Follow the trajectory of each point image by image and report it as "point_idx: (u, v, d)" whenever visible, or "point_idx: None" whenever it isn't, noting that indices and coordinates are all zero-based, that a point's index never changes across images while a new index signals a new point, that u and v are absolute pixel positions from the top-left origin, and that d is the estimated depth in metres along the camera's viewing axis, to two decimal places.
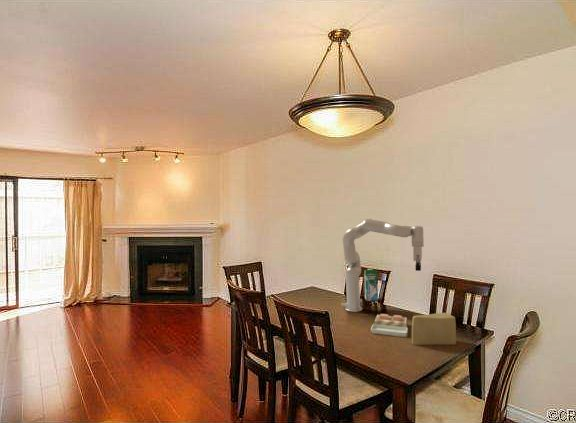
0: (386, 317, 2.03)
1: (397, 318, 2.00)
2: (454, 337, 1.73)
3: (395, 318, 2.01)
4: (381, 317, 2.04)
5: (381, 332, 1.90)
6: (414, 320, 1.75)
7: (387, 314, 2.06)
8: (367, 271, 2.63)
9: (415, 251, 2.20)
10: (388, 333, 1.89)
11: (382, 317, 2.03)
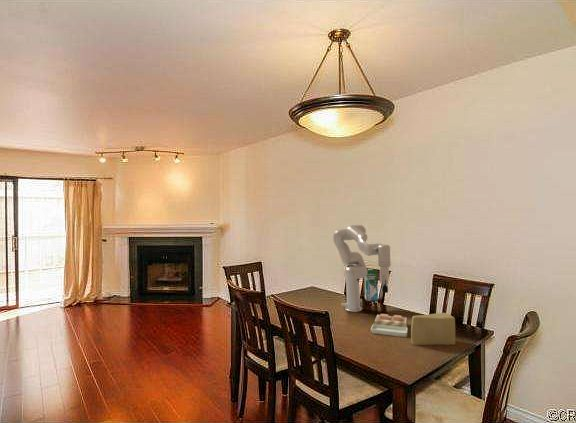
0: (386, 317, 2.03)
1: (397, 318, 2.00)
2: (453, 337, 1.73)
3: (395, 318, 2.01)
4: (381, 317, 2.04)
5: (381, 332, 1.90)
6: (413, 320, 1.75)
7: (387, 314, 2.06)
8: (367, 271, 2.63)
9: (382, 271, 2.09)
10: (388, 333, 1.89)
11: (382, 317, 2.03)
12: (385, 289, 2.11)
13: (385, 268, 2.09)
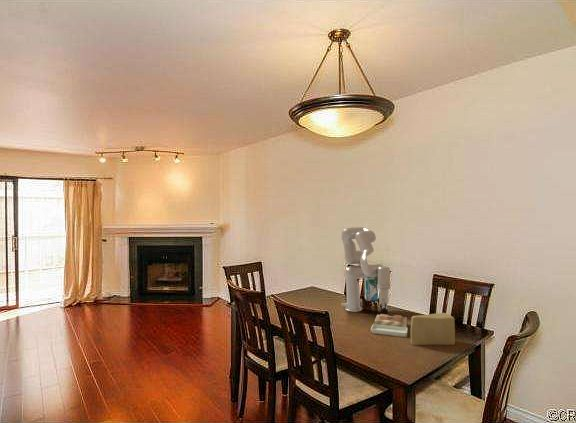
0: (386, 317, 2.02)
1: (397, 318, 2.00)
2: (453, 337, 1.73)
3: (395, 318, 2.01)
4: (381, 317, 2.03)
5: (381, 332, 1.90)
6: (413, 320, 1.75)
7: None
8: None
9: (381, 294, 2.04)
10: (388, 333, 1.89)
11: (382, 317, 2.03)
12: (385, 312, 2.07)
13: (385, 291, 2.04)
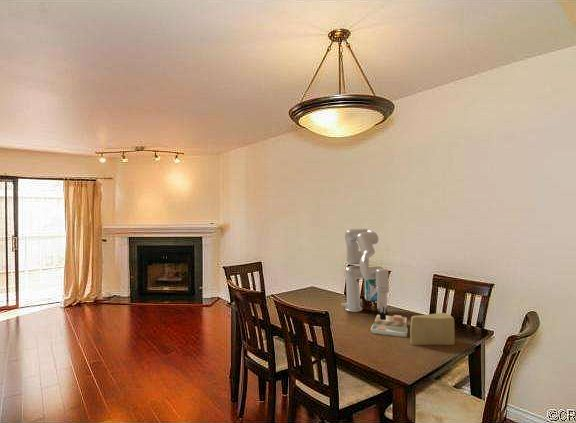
0: None
1: (397, 318, 2.00)
2: (453, 337, 1.73)
3: (395, 318, 2.01)
4: None
5: (381, 332, 1.90)
6: (413, 320, 1.74)
7: None
8: None
9: (379, 297, 1.96)
10: (388, 333, 1.89)
11: None
12: (383, 316, 1.98)
13: (383, 294, 1.96)
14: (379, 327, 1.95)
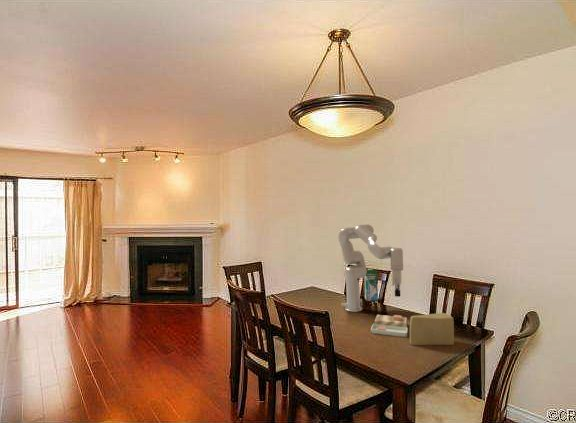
0: None
1: (397, 318, 2.00)
2: (452, 337, 1.73)
3: (395, 318, 2.01)
4: None
5: (381, 332, 1.90)
6: (412, 320, 1.74)
7: None
8: (367, 271, 2.63)
9: (394, 275, 2.06)
10: (388, 333, 1.89)
11: None
12: (397, 293, 2.08)
13: (398, 272, 2.05)
14: (379, 327, 1.95)
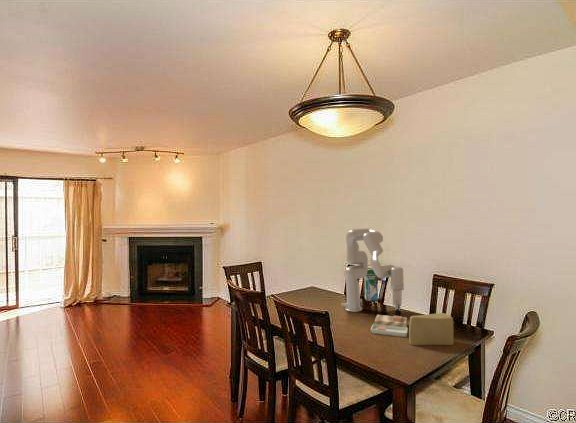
0: None
1: (397, 319, 1.99)
2: (452, 337, 1.72)
3: (395, 319, 1.99)
4: None
5: (381, 332, 1.90)
6: (411, 320, 1.74)
7: None
8: (367, 271, 2.63)
9: (395, 295, 2.01)
10: (388, 333, 1.89)
11: None
12: (398, 313, 2.03)
13: (398, 292, 2.00)
14: (379, 327, 1.95)
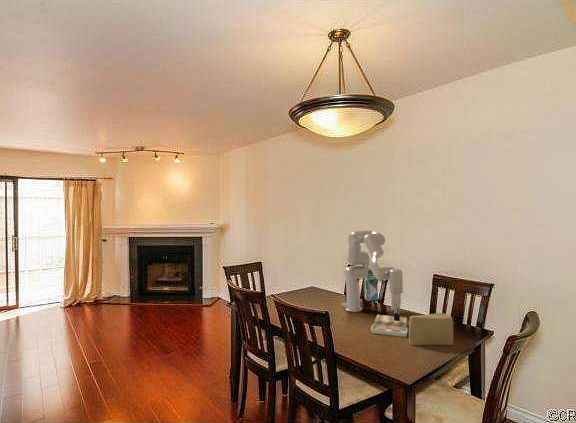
0: None
1: None
2: (451, 337, 1.72)
3: None
4: None
5: (381, 332, 1.90)
6: (411, 320, 1.74)
7: None
8: None
9: (393, 298, 1.93)
10: (388, 333, 1.89)
11: None
12: (397, 317, 1.96)
13: (397, 295, 1.93)
14: (379, 327, 1.95)
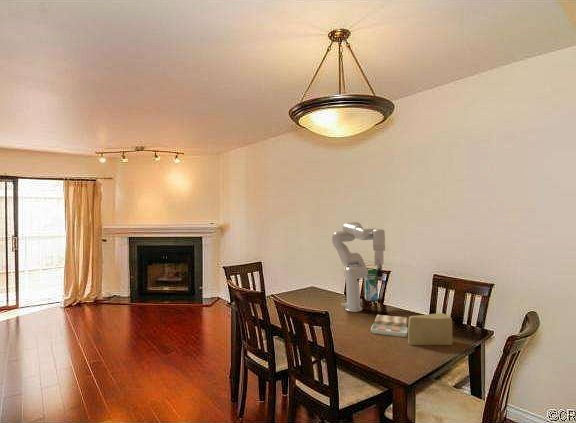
0: None
1: None
2: (450, 338, 1.72)
3: None
4: None
5: (381, 332, 1.90)
6: (410, 320, 1.74)
7: None
8: None
9: (376, 255, 2.10)
10: (388, 333, 1.89)
11: None
12: (380, 273, 2.13)
13: (380, 252, 2.10)
14: (379, 327, 1.95)
